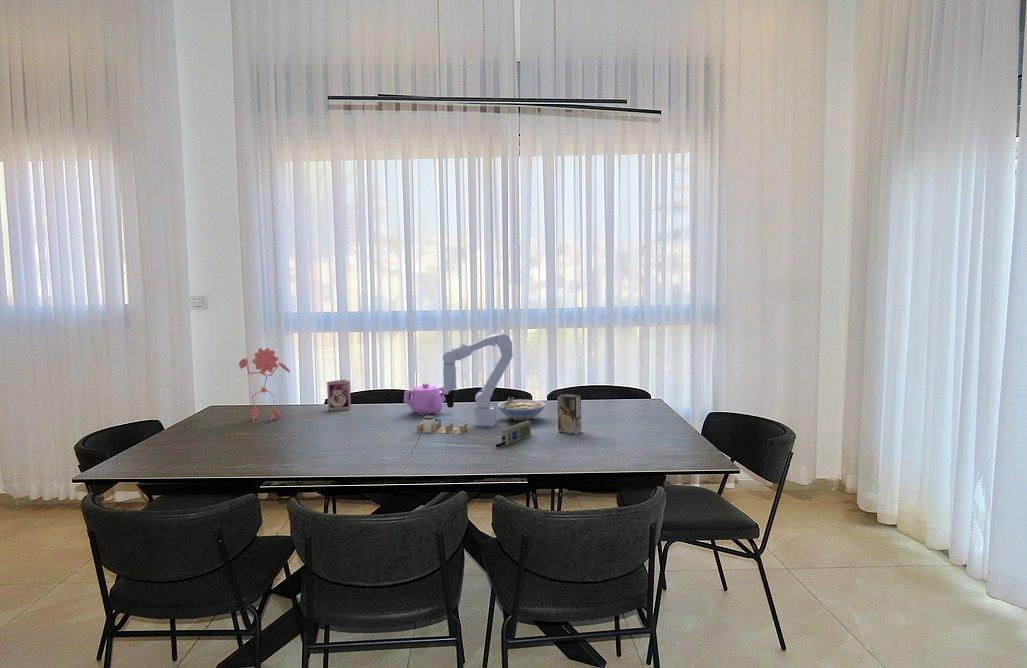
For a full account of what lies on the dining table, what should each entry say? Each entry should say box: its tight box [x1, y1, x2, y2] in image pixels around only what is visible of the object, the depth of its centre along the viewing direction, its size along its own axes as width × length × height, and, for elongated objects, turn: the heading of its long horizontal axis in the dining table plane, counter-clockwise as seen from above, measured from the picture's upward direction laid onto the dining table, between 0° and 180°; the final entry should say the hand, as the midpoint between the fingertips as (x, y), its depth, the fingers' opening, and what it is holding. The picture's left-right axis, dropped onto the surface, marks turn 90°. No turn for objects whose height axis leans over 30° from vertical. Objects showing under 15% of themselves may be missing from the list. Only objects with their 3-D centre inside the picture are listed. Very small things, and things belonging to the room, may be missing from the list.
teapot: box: [403, 382, 446, 416], centre depth 323 cm, size 19×18×15 cm
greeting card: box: [326, 378, 352, 412], centre depth 337 cm, size 11×7×15 cm, turn 104°
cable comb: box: [416, 417, 469, 435], centre depth 283 cm, size 20×11×5 cm, turn 80°
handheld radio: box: [495, 420, 532, 449], centre depth 266 cm, size 7×3×25 cm
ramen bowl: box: [497, 396, 546, 421], centre depth 307 cm, size 25×23×8 cm
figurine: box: [238, 347, 291, 422], centre depth 315 cm, size 15×26×35 cm, turn 86°
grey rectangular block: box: [422, 415, 436, 431], centre depth 283 cm, size 4×4×6 cm
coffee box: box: [556, 393, 583, 434], centre depth 280 cm, size 9×6×16 cm
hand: (450, 407), depth 291 cm, fingers closed
